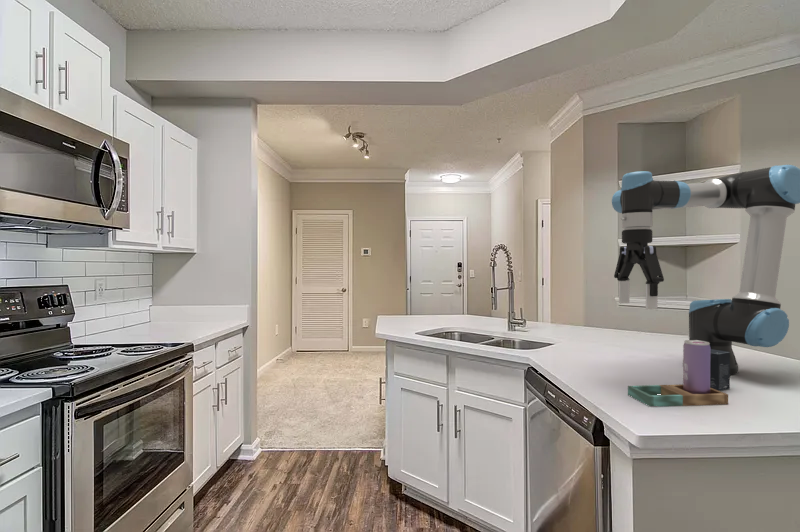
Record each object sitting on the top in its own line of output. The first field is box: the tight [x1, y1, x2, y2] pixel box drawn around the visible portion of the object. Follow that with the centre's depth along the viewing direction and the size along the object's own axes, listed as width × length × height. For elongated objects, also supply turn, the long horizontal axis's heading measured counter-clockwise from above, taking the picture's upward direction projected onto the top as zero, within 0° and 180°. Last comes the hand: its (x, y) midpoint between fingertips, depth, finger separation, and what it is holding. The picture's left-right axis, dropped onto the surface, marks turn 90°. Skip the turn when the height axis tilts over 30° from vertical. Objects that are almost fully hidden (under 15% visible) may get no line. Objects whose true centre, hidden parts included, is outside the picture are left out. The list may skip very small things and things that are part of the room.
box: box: [710, 349, 731, 392], centre depth 130 cm, size 8×6×11 cm
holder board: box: [627, 383, 729, 407], centre depth 119 cm, size 21×10×2 cm, turn 94°
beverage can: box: [682, 339, 711, 394], centre depth 120 cm, size 6×6×15 cm
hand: (637, 306), depth 126 cm, fingers open, 13 cm apart
